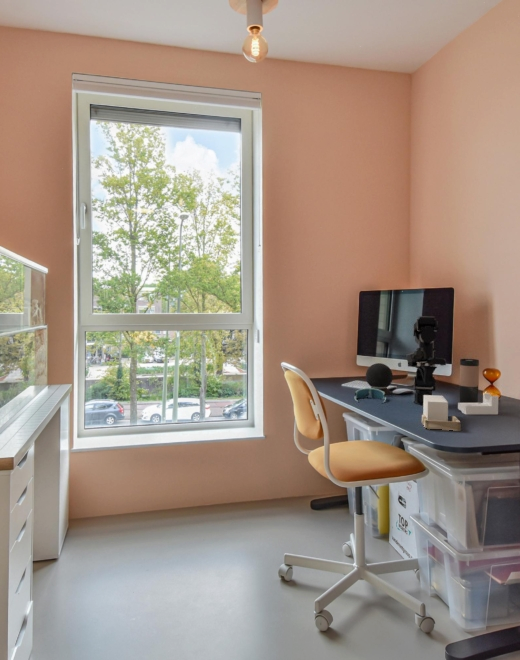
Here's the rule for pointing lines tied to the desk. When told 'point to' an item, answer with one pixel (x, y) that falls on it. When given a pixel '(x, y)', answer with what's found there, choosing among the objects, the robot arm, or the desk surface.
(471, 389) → the travel mug
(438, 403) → the white cardboard box
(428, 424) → the birch slot
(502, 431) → the desk surface
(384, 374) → the black ball on stand
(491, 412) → the bracket
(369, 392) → the sunglasses
